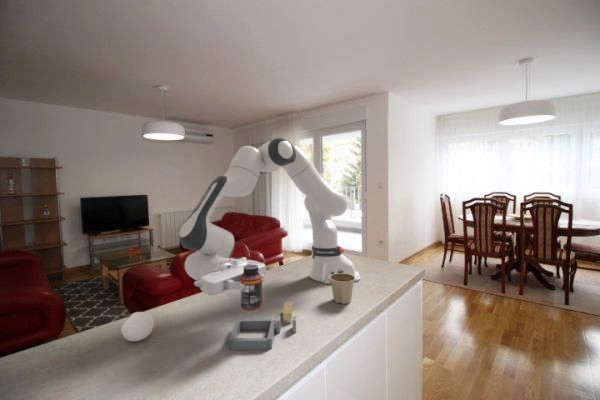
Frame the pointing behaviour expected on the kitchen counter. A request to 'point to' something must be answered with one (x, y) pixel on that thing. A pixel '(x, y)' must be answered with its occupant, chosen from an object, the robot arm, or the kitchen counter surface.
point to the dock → (256, 343)
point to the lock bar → (287, 312)
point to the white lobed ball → (138, 326)
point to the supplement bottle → (251, 288)
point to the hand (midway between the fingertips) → (253, 282)
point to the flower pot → (342, 287)
